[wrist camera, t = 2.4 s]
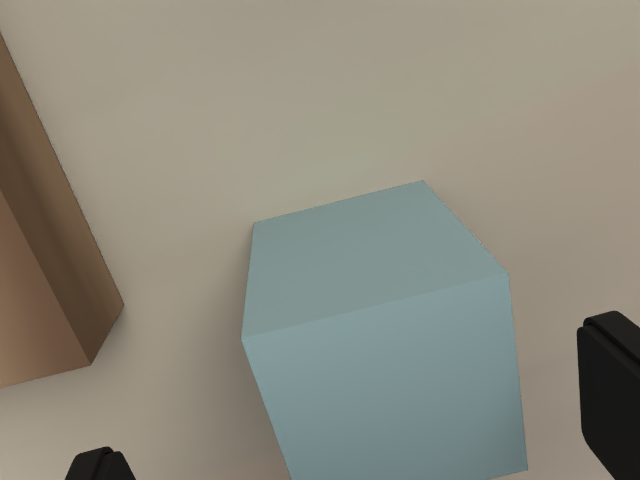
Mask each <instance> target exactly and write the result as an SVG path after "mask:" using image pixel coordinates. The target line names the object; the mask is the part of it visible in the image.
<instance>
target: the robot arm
mask: <svg viewBox="0 0 640 480" xmlns="http://www.w3.org/2000/svg"><path fill="white" fill-rule="evenodd" d="M577 349H578V369H579V389H580V409H581V428H582V433H583V436H584V439H585V441H586V443H587V445H588V446H589V448H590V449H591V450H592V451H593V453H594V454H595V455H596V457H597V458H598V459H599V460H600V462H601V463H602V464H603V465H604V467H605V468H606V469H607V470H608V472H609V473H610V474H611V475H612V477H613V478H614V479H615V480H640V328H639V327H638V326H637V325H635V324H634V323H633V322H632V321H630V320H629V319H628V318H626V317H625V316H624V315H623V314H621V313H619V312H618V311H610V312H607V313H603V314H599V315H595V316H592V317H588V318H586V319H585V320H584V322H583V327H580V328H578V330H577ZM65 480H136V479H135V477H134V475H133V473H132V471H131V469H130V467H129V465H128V463H127V461H126V460H125V458H124V456H123V454H122V453H121V452H120V451H116V452H114V451H113V450H112V449H111V448H110V447H102V448H98V449H95V450H91V451H87V452H83V453H80V454H78V455H77V456H76V457H75V458H74V460H73V462H72V464H71V467H70V469H69V471H68V474H67V476H66V478H65Z"/></svg>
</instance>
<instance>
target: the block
mask: <svg viewBox="0 0 640 480" xmlns="http://www.w3.org/2000/svg"><path fill="white" fill-rule="evenodd" d="M241 341H242V344H243V347H244V349H245V352H246V355H247V358H248V360H249V363H250V366H251V369H252V371H253V374H254V377H255V380H256V383H257V385H258V388H259V391H260V394H261V396H262V399H263V402H264V405H265V407H266V410H267V413H268V416H269V419H270V421H271V424H272V427H273V430H274V432H275V435H276V438H277V441H278V443H279V446H280V449H281V452H282V455H283V457H284V460H285V463H286V466H287V468H288V471H289V474H290V477H291V480H487V479H492V478H496V477H500V476H504V475H508V474H513V473H517V472H521V471H525V470H528V464H527V454H526V444H525V434H524V425H523V415H522V405H521V395H520V385H519V375H518V365H517V355H516V345H515V335H514V325H513V315H512V305H511V296H510V286H509V276H508V272H507V271H506V270H505V269H504V268H503V267H502V266H501V265H500V264H499V262H498V261H497V260H496V259H495V258H494V257H493V256H492V255H491V254H490V253H489V252H488V251H487V249H486V248H485V247H484V246H483V245H482V244H481V243H480V242H479V241H478V240H477V239H476V238H475V236H474V235H473V234H472V233H471V232H470V231H469V230H468V229H467V228H466V227H465V226H464V224H463V223H462V222H461V221H460V220H459V219H458V218H457V217H456V216H455V215H454V214H453V213H452V211H451V210H450V209H449V208H448V207H447V206H446V205H445V204H444V203H443V202H442V201H441V200H440V198H439V197H438V196H437V195H436V194H435V193H434V192H433V191H432V190H431V189H430V188H429V187H428V185H427V184H426V183H425V182H424V181H423V180H421V181H417V182H413V183H409V184H405V185H401V186H397V187H393V188H389V189H385V190H381V191H377V192H373V193H369V194H365V195H361V196H357V197H353V198H350V199H346V200H342V201H338V202H334V203H330V204H326V205H322V206H318V207H314V208H310V209H306V210H302V211H298V212H294V213H290V214H286V215H282V216H278V217H274V218H270V219H266V220H262V221H259V222H255V223H254V228H253V237H252V246H251V255H250V263H249V272H248V281H247V290H246V298H245V307H244V316H243V325H242V333H241Z"/></svg>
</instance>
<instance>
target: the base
mask: <svg viewBox="0 0 640 480" xmlns="http://www.w3.org/2000/svg"><path fill="white" fill-rule="evenodd" d="M123 305H124V303H123V301H122V299H121V297H120V295H119V292H118V290H117V288H116V286H115V284H114V282H113V279H112V277H111V275H110V273H109V271H108V268H107V266H106V264H105V262H104V260H103V257H102V255H101V253H100V251H99V249H98V246H97V244H96V242H95V240H94V238H93V236H92V233H91V231H90V229H89V227H88V225H87V222H86V220H85V218H84V216H83V214H82V211H81V209H80V207H79V205H78V203H77V200H76V198H75V196H74V194H73V192H72V190H71V187H70V185H69V183H68V181H67V179H66V176H65V174H64V172H63V170H62V168H61V165H60V163H59V161H58V159H57V157H56V154H55V152H54V150H53V148H52V146H51V144H50V141H49V139H48V137H47V135H46V133H45V130H44V128H43V126H42V124H41V122H40V119H39V117H38V115H37V113H36V111H35V108H34V106H33V104H32V102H31V100H30V98H29V95H28V93H27V91H26V89H25V87H24V84H23V82H22V80H21V78H20V76H19V73H18V71H17V69H16V67H15V65H14V62H13V60H12V58H11V56H10V54H9V52H8V49H7V47H6V45H5V43H4V41H3V38H2V36H1V34H0V388H2V387H6V386H10V385H14V384H18V383H22V382H26V381H30V380H34V379H38V378H42V377H46V376H50V375H54V374H58V373H62V372H66V371H70V370H74V369H78V368H82V367H86V366H90V365H91V364H92V362H93V361H94V359H95V357H96V355H97V353H98V351H99V350H100V348H101V346H102V344H103V342H104V340H105V339H106V337H107V335H108V333H109V331H110V329H111V327H112V326H113V324H114V322H115V320H116V318H117V316H118V315H119V313H120V311H121V309H122V307H123Z"/></svg>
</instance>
